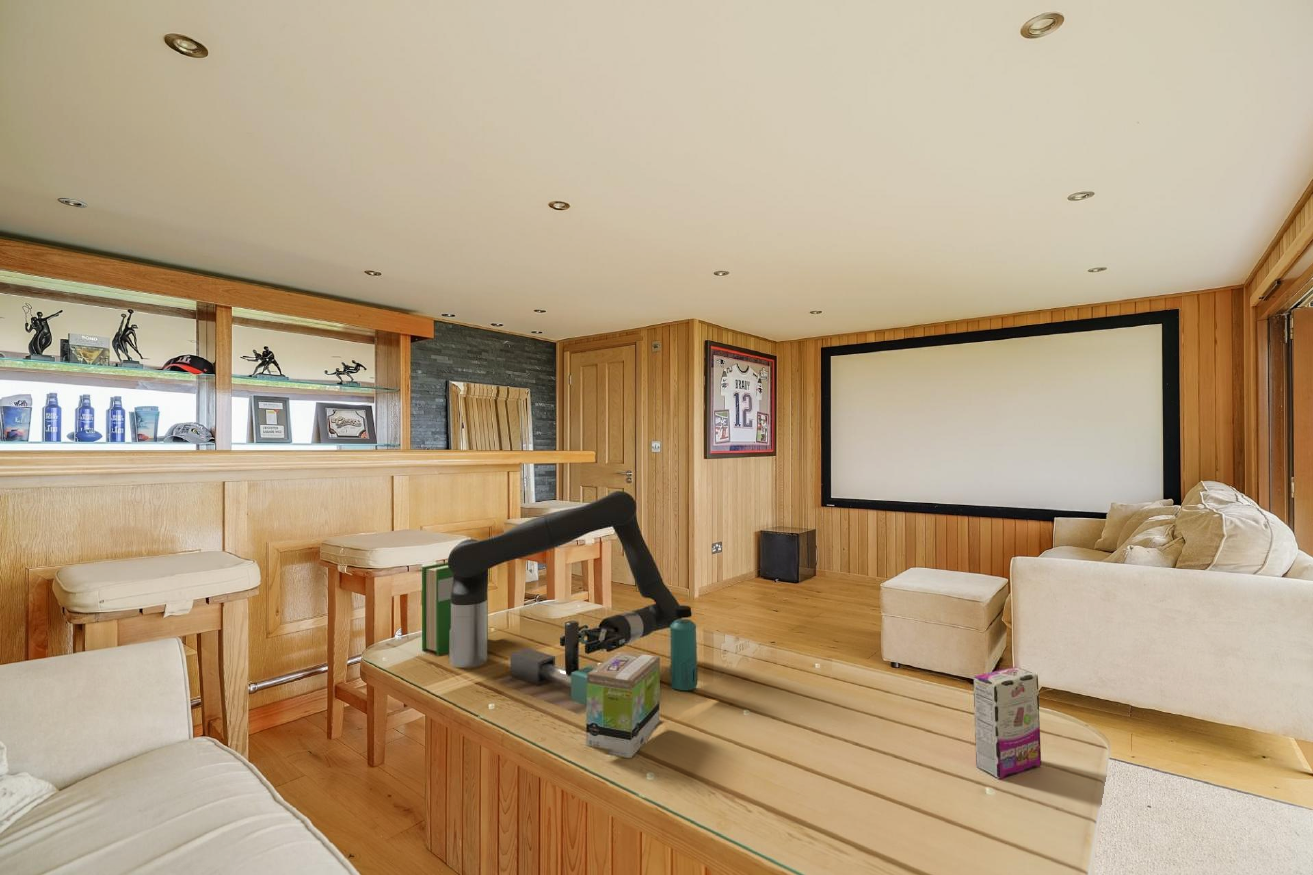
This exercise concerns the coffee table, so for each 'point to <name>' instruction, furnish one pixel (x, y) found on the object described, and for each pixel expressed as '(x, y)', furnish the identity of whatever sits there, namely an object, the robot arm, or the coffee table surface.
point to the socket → (580, 685)
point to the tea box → (623, 702)
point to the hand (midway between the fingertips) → (573, 645)
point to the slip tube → (571, 657)
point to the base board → (546, 693)
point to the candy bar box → (1007, 722)
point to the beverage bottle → (683, 650)
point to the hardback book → (437, 607)
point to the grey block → (529, 665)
